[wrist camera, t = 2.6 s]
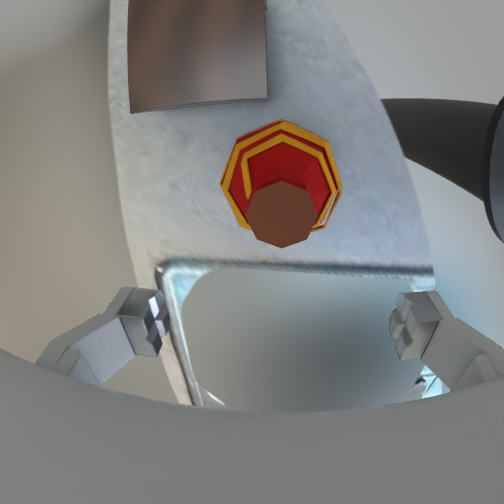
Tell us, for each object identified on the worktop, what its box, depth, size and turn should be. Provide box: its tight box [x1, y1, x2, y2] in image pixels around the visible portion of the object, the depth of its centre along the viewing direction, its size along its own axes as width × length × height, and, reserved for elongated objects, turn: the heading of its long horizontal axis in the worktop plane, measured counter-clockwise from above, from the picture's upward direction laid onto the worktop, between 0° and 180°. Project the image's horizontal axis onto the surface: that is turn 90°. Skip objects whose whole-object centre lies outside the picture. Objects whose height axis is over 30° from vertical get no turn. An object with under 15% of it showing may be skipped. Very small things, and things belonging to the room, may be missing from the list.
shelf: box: [127, 0, 270, 114], centre depth 20 cm, size 12×12×7 cm
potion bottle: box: [219, 119, 342, 248], centre depth 22 cm, size 10×10×15 cm
